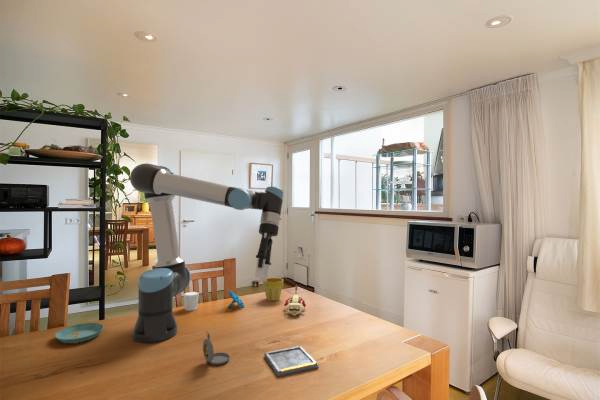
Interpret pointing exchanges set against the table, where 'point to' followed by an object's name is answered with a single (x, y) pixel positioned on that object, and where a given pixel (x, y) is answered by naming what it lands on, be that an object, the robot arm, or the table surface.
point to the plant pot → (273, 288)
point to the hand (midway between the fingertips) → (261, 279)
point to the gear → (235, 299)
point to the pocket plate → (290, 361)
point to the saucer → (85, 332)
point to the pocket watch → (209, 353)
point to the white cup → (191, 300)
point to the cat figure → (295, 304)
